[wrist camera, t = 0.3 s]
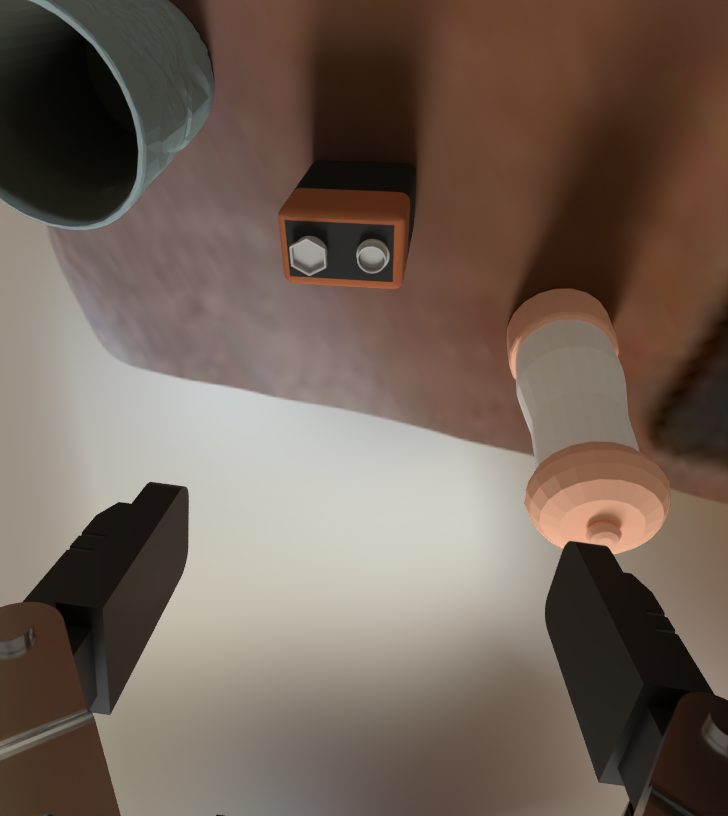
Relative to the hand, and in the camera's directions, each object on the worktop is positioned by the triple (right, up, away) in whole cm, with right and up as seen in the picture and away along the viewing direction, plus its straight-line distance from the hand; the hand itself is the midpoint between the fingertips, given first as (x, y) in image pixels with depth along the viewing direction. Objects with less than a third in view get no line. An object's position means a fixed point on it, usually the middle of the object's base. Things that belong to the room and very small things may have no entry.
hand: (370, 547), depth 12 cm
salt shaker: (+14, +9, +30) cm, 34 cm away
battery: (0, +17, +25) cm, 31 cm away
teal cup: (-13, +23, +23) cm, 35 cm away
